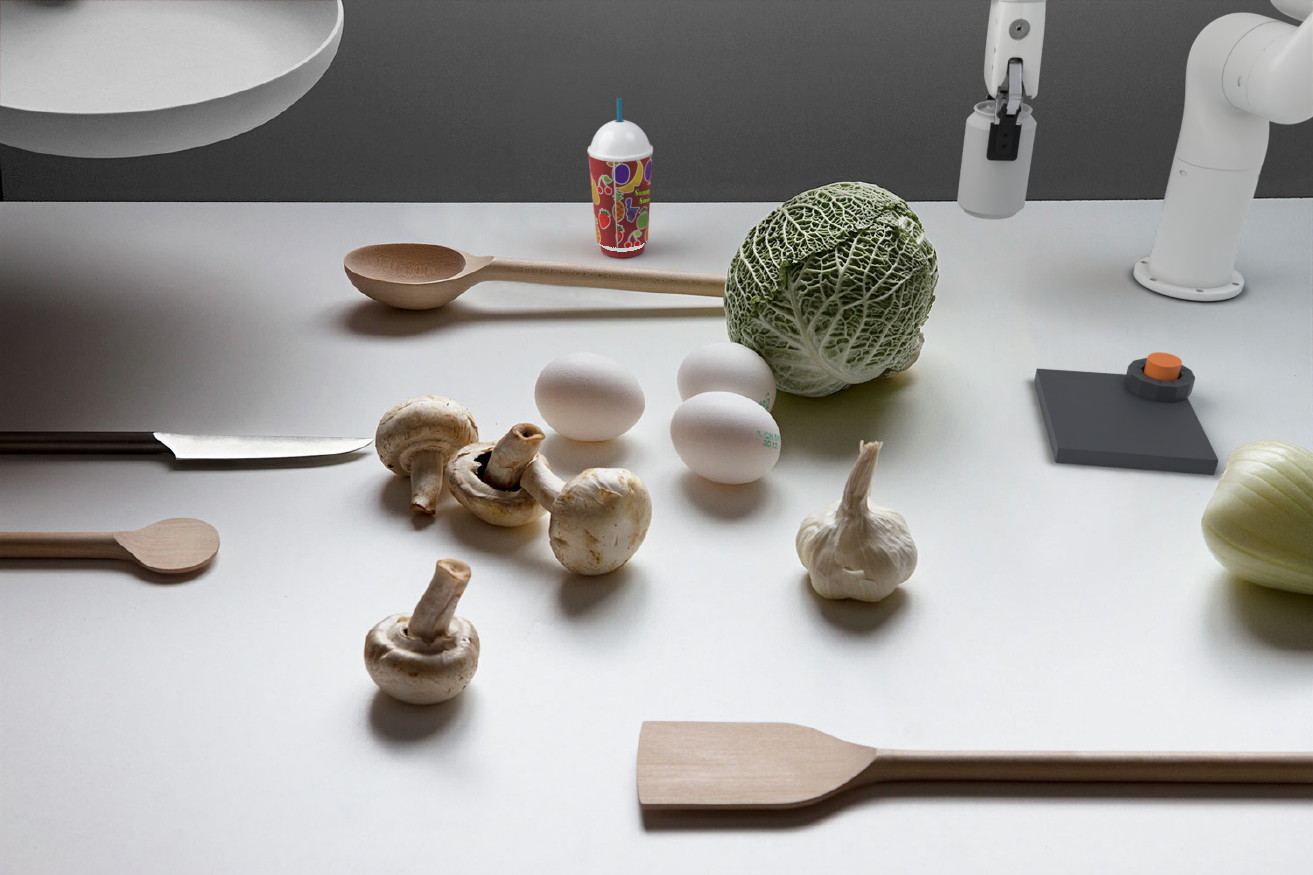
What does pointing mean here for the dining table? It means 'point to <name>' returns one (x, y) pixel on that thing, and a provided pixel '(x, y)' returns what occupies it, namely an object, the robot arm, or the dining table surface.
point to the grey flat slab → (1124, 420)
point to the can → (993, 167)
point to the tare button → (1163, 366)
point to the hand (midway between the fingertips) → (997, 147)
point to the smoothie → (621, 185)
